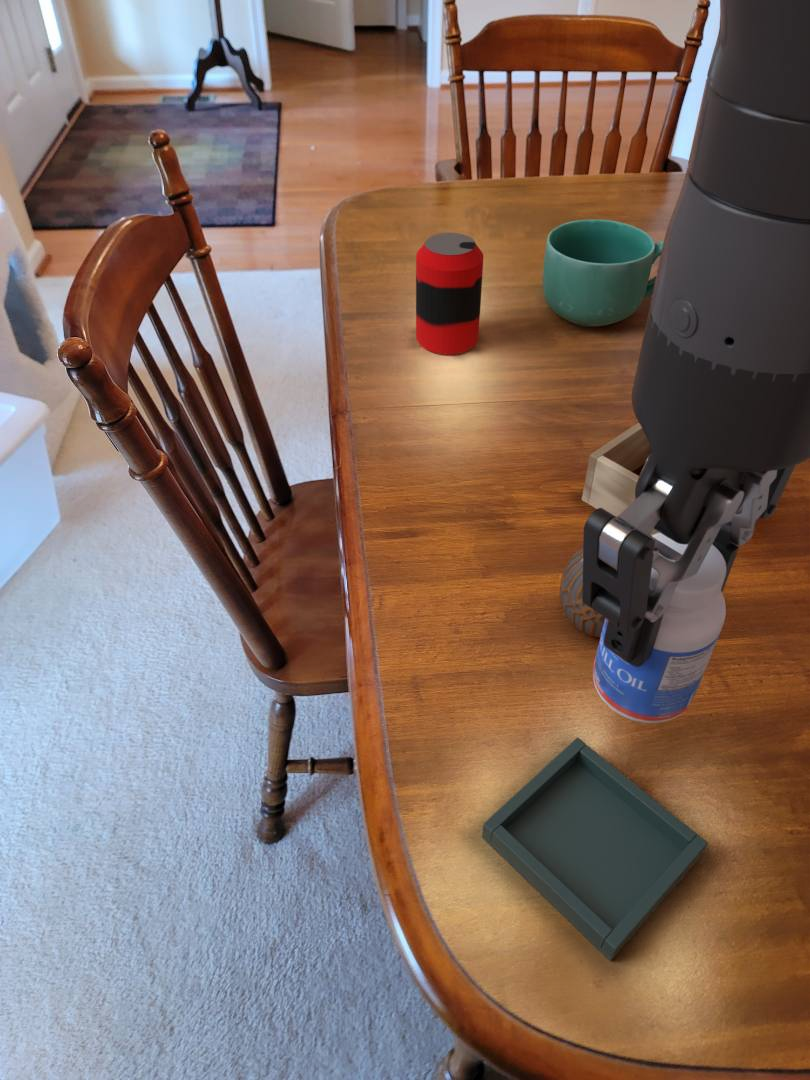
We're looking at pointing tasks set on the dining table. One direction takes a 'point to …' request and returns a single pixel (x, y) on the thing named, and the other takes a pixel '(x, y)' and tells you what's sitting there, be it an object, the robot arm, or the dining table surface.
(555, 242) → the mug
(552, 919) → the dining table surface
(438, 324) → the soda can
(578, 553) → the vase
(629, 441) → the crate
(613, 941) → the tray
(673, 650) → the pill bottle
